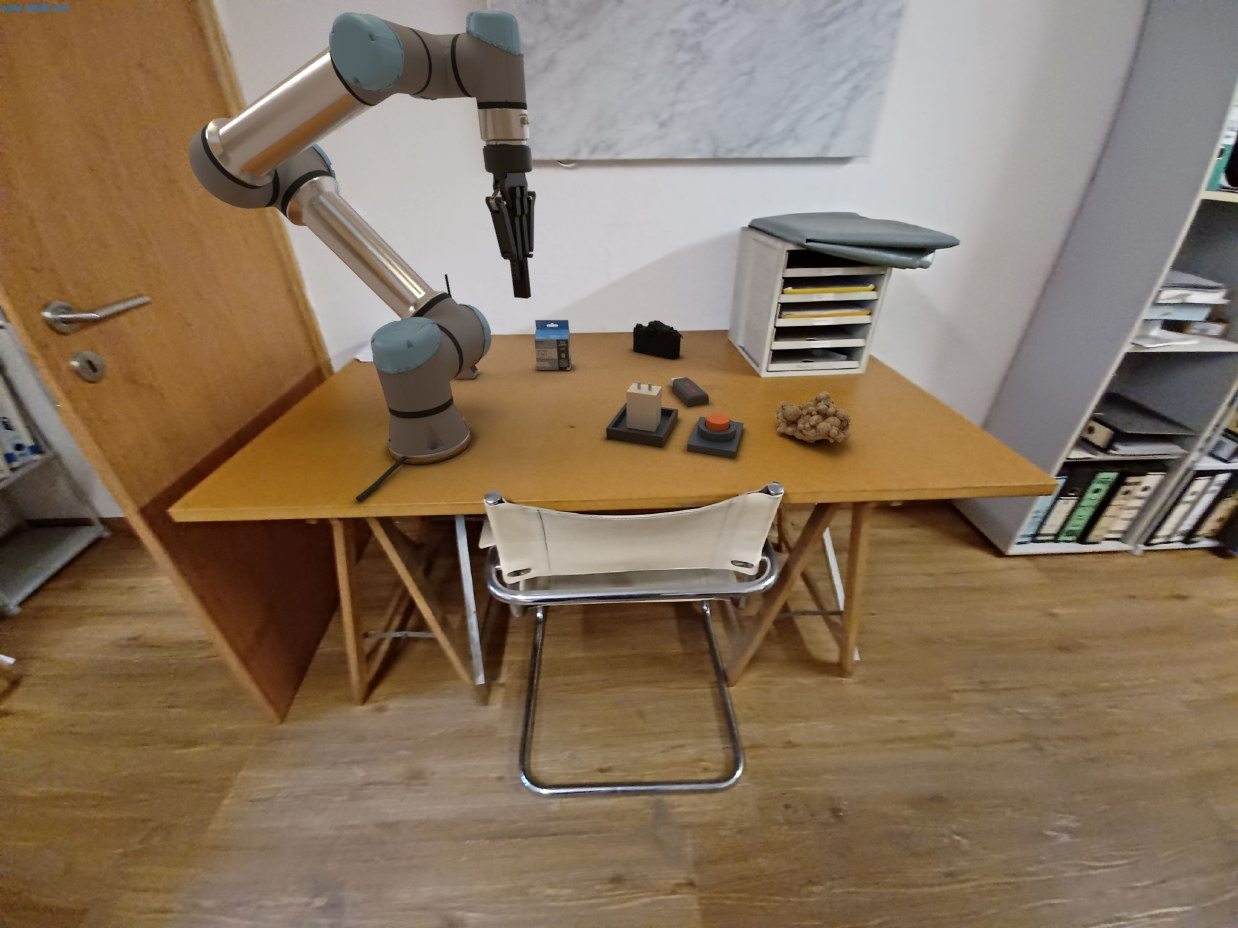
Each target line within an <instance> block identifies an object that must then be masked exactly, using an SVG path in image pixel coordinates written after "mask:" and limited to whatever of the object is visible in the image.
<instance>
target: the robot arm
mask: <svg viewBox="0 0 1238 928" xmlns="http://www.w3.org/2000/svg"><path fill="white" fill-rule="evenodd" d="M519 23H520V22H519V20H518V19H517V17H515V15H514V14H512V13H510V12H508V11H505V10H498V9H476V10H473V11H469V12H468V13H467V15H466V17H465V26H466V27H465V32H460V33H449V34H447V33H446V34H435V33H434V34H433V33H430V32H426V31H423V30H419V29H416V28H413V27H410V26H406V25H402V24H399V23H395V22H393V21H390V20H388V19H387V20H386V19H383V18H381V17H379V16H377V15H374V14H372V13H362V12H361V13H359V12H354V11H346V12H343V13H340V14H339V15H337V16H336V17H335V18H334V19H333V22H332V26H331V30H330V31H329V36H328V46H327V47H325V48H324V49H322V51H320V52H319V53H317V54H316V55H315V56H313V57H312V58H311V59H309V60H307V62H305V63H304V64H303V65H301V66H300V67H298V68H297V69H296V70H294V71H293V72H292V73H290V74H289V75H288V76H286V77H285V78H283V79H282V80H280V82H278V83H277V84H275V85H274V86H273V87H271V88H270V89H269V90H267V91H266V92H265V93H264V94H262V95H260V96H259V97H258V98H256V99H255V100H253V101H252V102H251V103H250V104H248V105H247V106H245V107H244V108H243V109H241V110H240V111H239V112H237V113H236V114H235V115H233V116H232V117H231V118H227V117H216V118H214V119H212V120H211V121H209V122H208V123H206V124H205V125H204V126H203V127H201V128H200V129H199V130H198V131H197V132H196V133H195V134H194V136H193V137H192V139H191V141H190V143H189V147H188V159H189V164H190V167H191V168H190V169H191V170H192V172H193V174H194V176H195V177H196V179H197V180H198V182H199V183H200V184H201V186H202V187H203V188H204V189H205V190H206V191H207V192H208V193H209V194H211V195H212V196H213V197H214V198H216V199H218V200H219V201H221V202H223V203H225V204H228V205H230V206H232V207H235V208H236V207H237V208H240V209H247V210H255V209H263V208H264V209H265V208H272V207H273V208H275V209H276V210H278V211H279V212H280V213H281V214H282V215H283V216H284V218H286V219H287V220H288V222H290V223H291V224H293V225H294V226H298V227H307V229H309V230H310V231H311V232H312V233H313V234H314V235H315V236H316V237H317V238H318V239H319V240H320V241H321V242H322V243H323V244H324V245H325V246H326V247H327V248H328V249H329V250H330V251H332V253H334V255H336V256H337V257H338V259H340V260H341V261H342V263H344V265H346V266H347V267H348V268H349V269H350V270H351V271H352V272H353V274H355V275H356V276H357V277H358V278H359V279H360V280H361V281H362V282H363V283H364V284H365V285H366V286H367V287H368V288H369V289H370V290H371V291H372V292H373V293H374V294H375V295H376V296H378V298H380V300H381V301H382V302H383V303H384V304H385V305H386V306H388V308H390V309H391V310H392V311H393V312H394V313H395V314H396V315H397V316H398V317H399V318H400V320H392V321H391V322H388V323H386V324H383V325H382V326H381V327H379V328H378V329H376V330H375V331H374V333H373V334H372V335H371V339H370V348H371V352H372V361H373V364H374V366H375V370H376V373H377V376H378V379H379V382H380V386H381V389H382V392H383V396H384V399H385V403H386V405H387V409H388V413H389V422H388V436H387V448H388V451H389V454H390V456H391V457H392V458H393V459H394V460H396V462H394V464H392V465H391V466H390V467H389V468H388V469H387V470H386V471H385V472H384V473H382V475H381V476H380V477H379V478H378V479H376V480H375V482H373V483H372V484H371V485H369V487H367V488H366V489H365V490H364V491H362V492H361V493H359V494H358V495H357V496H356V497H355V500H356V501H357V502H361V501H362V500H363V499H364V498H366V497H367V496H368V495H370V494H371V493H372V492H373V491H375V490H376V489H377V488H378V487H379V486H381V484H382V483H383V482H384V481H385V480H387V478H388V477H390V475H392V473H394V472H395V471H396V470H397V468H400V466H401V465H402V464H411V465H425V464H435V463H437V462H441V461H445V460H448V459H450V458H453V457H455V456H456V455H459V454H460V453H462V452H463V451H465V449H467V447H468V446H469V445H470V443H471V440H472V437H471V431H470V427H469V426H468V423H467V422H466V417H465V415H463V416H462V415H461V413H460V410H459V409H458V407H457V406H456V404H455V401H454V396H453V391H452V390H453V389H452V385H451V381H452V380H453V379H456V378H455V377H456V376H458V375H459V374H461V373H462V372H464V371H465V370H467V369H468V368H470V367H471V366H473V365H475V366H476V365H477V364H478V363H479V362H480V361H481V360H482V359H483V358H484V357H486V355H487V354H488V353H489V351H490V348H491V346H492V330H491V326H490V324H489V321H488V320H487V318H486V316H485V315H484V313H483V312H481V310H479V308H477V307H476V306H474V305H471V304H466V303H458V302H457V301H456V300H455V299H454V298H453V296H452V295H451V296H452V297H451V296H450V295H449V294H448V291H447V292H446V291H445V290H435V289H433V288H432V287H431V286H430V284H428V283H427V282H426V281H425V280H424V279H423V278H422V276H421V275H420V274H419V273H418V272H416V270H414V269H413V267H411V266H410V264H408V263H407V261H406V260H405V259H404V258H403V257H402V256H401V255H400V254H398V252H397V251H396V250H395V249H394V248H393V247H392V246H391V245H390V244H389V243H388V242H387V241H386V240H385V239H384V238H383V237H382V236H381V235H380V234H379V233H378V232H377V231H376V230H375V229H374V228H373V227H372V225H370V224H369V223H368V222H367V221H366V220H365V219H364V218H363V217H362V216H361V215H360V214H359V213H358V211H356V210H355V208H354V207H352V205H350V203H349V202H347V201H346V200H345V199H344V198H343V196H341V185H340V183H339V182H338V180H337V176H336V172H335V169H332V161H331V159H330V158H329V155H327V153H326V152H325V151H324V149H323V148H322V147H320V145H318V144H317V143H319V142H320V141H322V140H324V139H325V138H327V137H328V136H330V135H332V134H333V133H334V132H336V131H338V130H339V129H341V128H342V127H344V126H346V125H347V124H349V123H350V122H352V121H353V120H355V119H357V118H358V117H360V116H361V115H362V114H365V112H367V111H369V110H370V109H372V108H374V107H376V106H378V105H379V104H380V103H382V102H384V101H385V100H387V99H389V98H390V97H392V96H394V95H396V94H403V95H409V96H410V97H411V98H414V99H419V100H426V101H427V100H430V101H437V100H442V99H461V98H470V99H471V98H472V99H473V98H475V102H476V108H477V116H478V117H477V118H478V126H479V134H480V140H482V142H485V143H484V144H485V145H483V148H482V155H483V163H484V170H485V172H487V173H489V174H492V190H493V192H492V194H491V196H485V199H484V201H485V204H486V207H487V208H488V211H489V213H490V216H491V221H492V224H493V229H494V233H495V237H496V240H497V245H498V248H499V253H500V257H501V258H503V260H507V261H509V265H510V267H509V268H510V276H511V281H512V283H511V284H512V290H513V291H512V292H513V298H516V299H527V300H528V299H530V298H532V292H531V280H530V279H531V278H530V269H529V260H528V259H533V258H534V253H533V252H534V251H535V250H534V249H535V205H536V199H537V193H536V191H535V190H530V189H529V184H528V180H527V176H526V173H527V174H528V173H531V172H532V171H533V158H532V157H533V156H532V147H530V145H527V142H528V141H529V140H530V139H531V137H530V126H529V125H530V123H531V119H530V117H529V116H528V115H529V114H528V104H527V91H526V76H525V63H524V58H525V53H524V51H523V43H522V35H521V28H520V24H519Z"/></svg>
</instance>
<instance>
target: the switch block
mask: <svg viewBox="0 0 1238 928" xmlns="http://www.w3.org/2000/svg"><path fill="white" fill-rule="evenodd" d="M706 419H707V416H699V418H698V420H697V422H696V424H695V427H694V429H693V430H692V433H691V435H690V438H689V440H688V442H687V444H686V452H690V453H695V454H701V455H707V456H714V457H720V458H725V459H726V458H727V459H731V460H735V458H736V456H737V455H736V454H737V451H738V448H739V444H740V440H741V437H742V434H743V430H744V425H745V424H744V422H741V421H735V420H733V419H730V421H729V428H728V429H727V430H726V431H713V430H710V429H708V428H707V427H706Z"/></svg>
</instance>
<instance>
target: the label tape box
mask: <svg viewBox="0 0 1238 928" xmlns="http://www.w3.org/2000/svg"><path fill="white" fill-rule="evenodd" d="M534 322H535V330H534V331H535V333H534V351H535V360H536V361H535V362H536V370H537V371H571V369H572V349H571V348H572V347H571V330H570V323H569V319H535V320H534ZM551 324H553V325H556V326H548V325H551Z"/></svg>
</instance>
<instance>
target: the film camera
mask: <svg viewBox="0 0 1238 928" xmlns="http://www.w3.org/2000/svg"><path fill="white" fill-rule="evenodd" d="M683 338H684V337H683V334H681V332H679V331H678V329H675V328H674V326H670V325H668V324H665V322H663V321H660V320H656V319H655V320H651V321H649V322H648V323H647V325H643V324H642V323H638V322H637V323H635V326H634V327H633V330H632V342H633V343H632V350H633V352H635V353H640V354H644V355H649V356H653V357H658V358H663V359H670V360H677V359H679V358H680V356H681V355H680V354H681V343H682V342H681V339H682V340H683Z"/></svg>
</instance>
